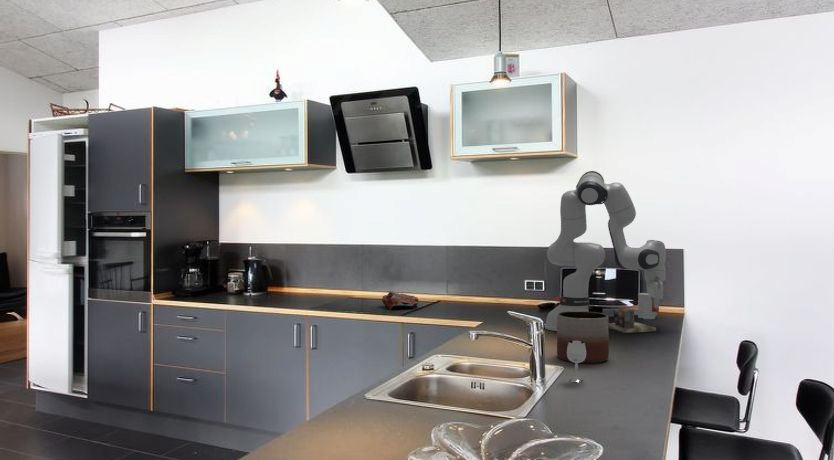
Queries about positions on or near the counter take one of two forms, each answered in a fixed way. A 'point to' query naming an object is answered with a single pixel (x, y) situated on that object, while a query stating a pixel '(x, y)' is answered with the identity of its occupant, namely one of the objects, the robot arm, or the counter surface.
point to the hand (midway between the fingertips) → (654, 306)
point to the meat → (399, 300)
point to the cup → (645, 305)
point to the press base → (636, 328)
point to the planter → (583, 334)
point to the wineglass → (576, 355)
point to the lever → (616, 311)
